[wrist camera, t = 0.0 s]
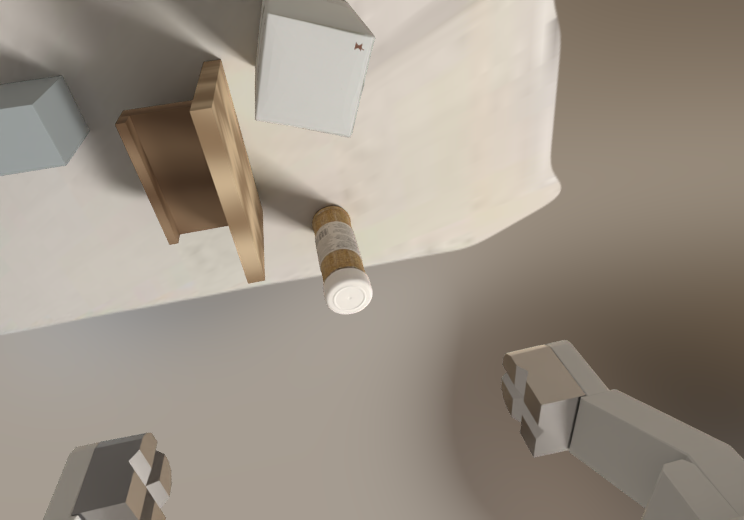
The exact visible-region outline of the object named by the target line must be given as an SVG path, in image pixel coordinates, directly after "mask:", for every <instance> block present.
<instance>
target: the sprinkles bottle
mask: <svg viewBox="0 0 744 520" xmlns="http://www.w3.org/2000/svg"><path fill="white" fill-rule="evenodd" d="M312 228H313V230H314V233H315V243H316V249H317V254H318V260H319V265H320V270H321V272H322V276H323V282H324V284H323V292H324V297H325V301H326V304H327V306H328V307H329V308H330V309H331V310H332V311H334V312H336V313H340V314H352V313H356V312H358V311H360V310H362V309H363V308H365V307H366V306H367V305H368V304H369V302H370V301H371V298H372V288H371V284H370V281H369V278H368V276H367V275H366V273H365V270H364V267H363V263H362V258H361V254H360V251H359V248H358V245H357V241H356V238H355V235H354V232H353V230H352V227H351V221H350V217H349V215H348V213H347V212H346V211H345V210H344V209H342V208H340V207H337V206H329V207H325V208H323V209H320V210H319V211H318V212H317V213H316V215H315V216H314V217H313V220H312Z"/></svg>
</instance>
